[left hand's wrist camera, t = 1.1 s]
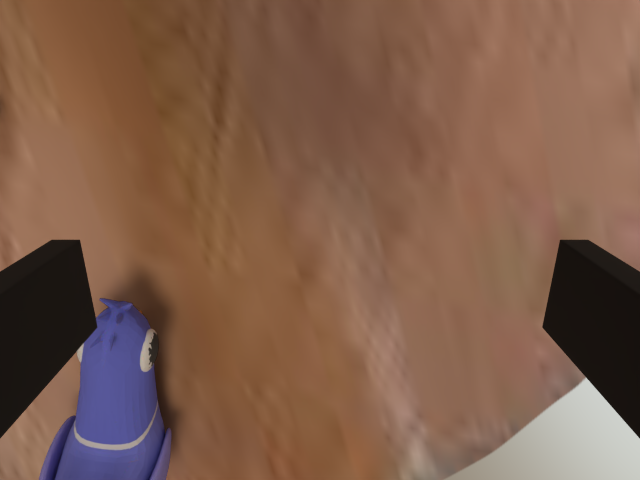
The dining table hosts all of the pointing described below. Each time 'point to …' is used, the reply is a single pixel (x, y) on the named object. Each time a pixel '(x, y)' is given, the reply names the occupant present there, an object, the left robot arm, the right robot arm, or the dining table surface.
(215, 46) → the dining table surface
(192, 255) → the dining table surface
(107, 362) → the toy
